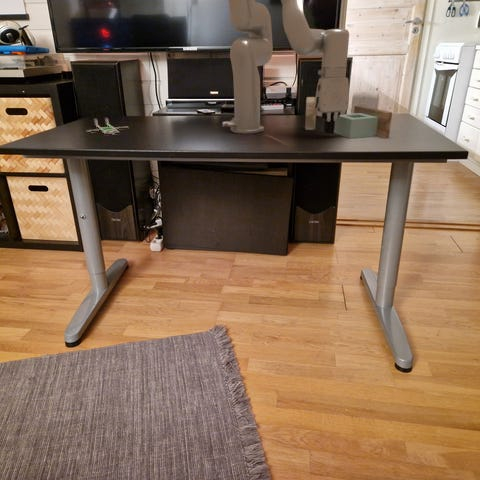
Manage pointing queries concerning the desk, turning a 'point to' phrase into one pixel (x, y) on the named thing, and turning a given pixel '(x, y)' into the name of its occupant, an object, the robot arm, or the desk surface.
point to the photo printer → (365, 99)
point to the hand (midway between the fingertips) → (328, 133)
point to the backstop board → (383, 119)
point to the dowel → (310, 113)
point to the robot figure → (107, 128)
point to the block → (356, 125)
